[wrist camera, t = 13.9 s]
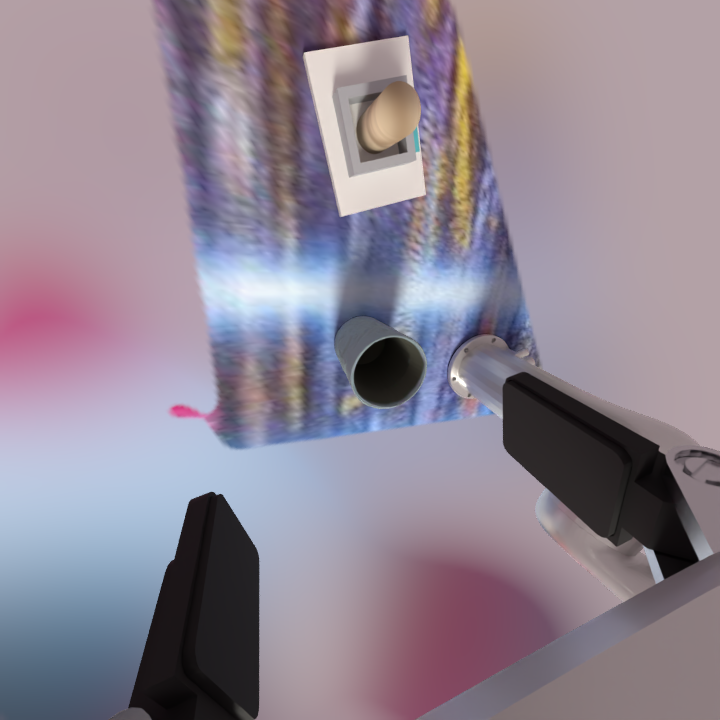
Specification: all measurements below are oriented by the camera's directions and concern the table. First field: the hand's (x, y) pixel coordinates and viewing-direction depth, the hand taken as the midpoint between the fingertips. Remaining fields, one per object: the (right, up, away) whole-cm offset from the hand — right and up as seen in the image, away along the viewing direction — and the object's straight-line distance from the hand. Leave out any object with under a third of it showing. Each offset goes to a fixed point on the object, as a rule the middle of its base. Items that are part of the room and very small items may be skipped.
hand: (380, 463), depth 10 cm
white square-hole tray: (+1, +31, +28) cm, 42 cm away
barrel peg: (+1, +31, +27) cm, 41 cm away
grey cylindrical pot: (0, +6, +39) cm, 39 cm away
